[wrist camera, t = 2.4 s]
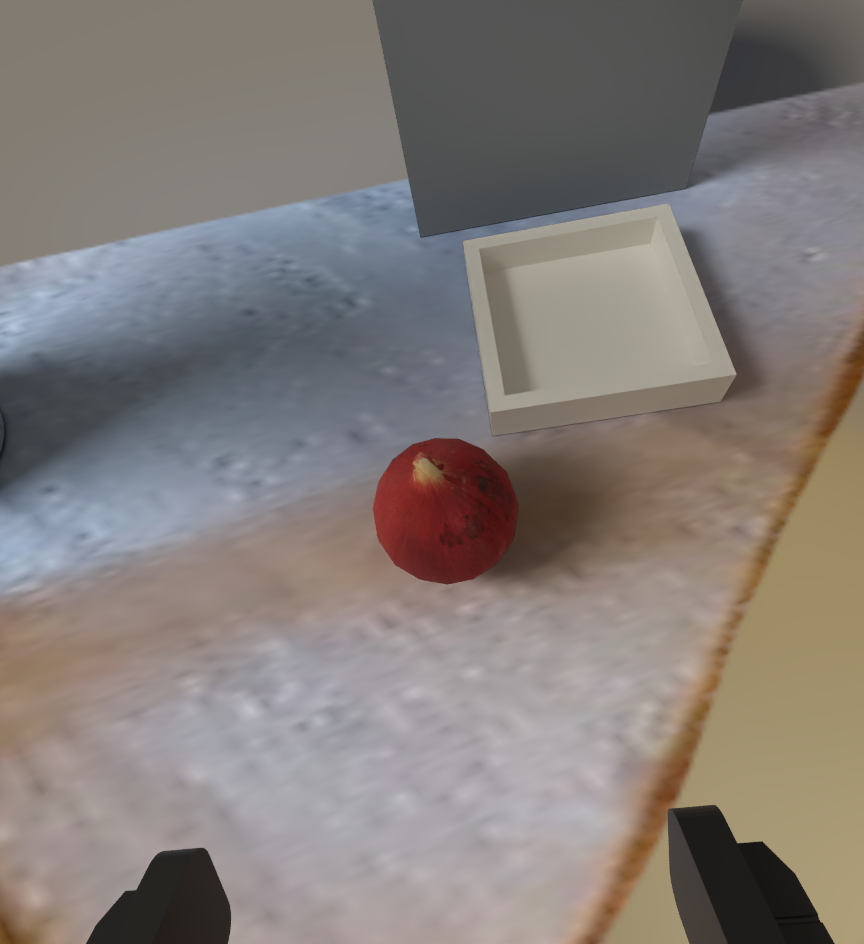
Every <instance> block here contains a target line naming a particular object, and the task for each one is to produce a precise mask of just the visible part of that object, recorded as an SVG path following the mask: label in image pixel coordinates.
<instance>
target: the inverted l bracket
mask: <svg viewBox="0 0 864 944" xmlns="http://www.w3.org/2000/svg"><path fill="white" fill-rule="evenodd" d="M742 1H743V0H373V5H374V10H375V15H376V19H377V24H378V29H379V35H380V40H381V44H382V49H383V54H384V59H385V64H386V69H387V74H388V79H389V84H390V89H391V94H392V99H393V104H394V108H395V114H396V119H397V123H398V128H399V134H400V139H401V143H402V149H403V153H404V158H405V163H406V168H407V173H408V178H409V183H410V188H411V193H412V198H413V203H414V208H415V213H416V218H417V223H418V228H419V233H420V237H424V236H429V235H434V234H440V233H445V232H451V231H456V230H462V229H467V228H473V227H478V226H484V225H489V224H494V223H500V222H505V221H511V220H516V219H522V218H527V217H533V216H538V215H544V214H549V213H554V212H560V211H565V210H571V209H576V208H582V207H587V206H593V205H598V204H604V203H609V202H614V201H620V200H625V199H631V198H636V197H642V196H647V195H653V194H658V193H664V192H669V191H674V190H680V189H685V188H686V187H687V184H688V181H689V177H690V174H691V171H692V167H693V164H694V161H695V157H696V154H697V151H698V147H699V144H700V141H701V138H702V134H703V131H704V128H705V124H706V121H707V118H708V114H709V111H710V107H711V104H712V101H713V98H714V94H715V91H716V88H717V84H718V81H719V78H720V74H721V71H722V68H723V64H724V61H725V58H726V55H727V51H728V48H729V45H730V41H731V38H732V34H733V31H734V28H735V25H736V21H737V18H738V15H739V11H740V8H741V5H742Z"/></svg>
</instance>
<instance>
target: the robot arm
mask: <svg viewBox="0 0 864 944" xmlns="http://www.w3.org/2000/svg"><path fill="white" fill-rule="evenodd" d="M3 439H4V422H3V419H2V416H1V413H0V452H1V449H2V444H3ZM668 836H669V862H670V863H669V864H670V876H671V883H672V888H673V893H674V897H675V901H676V904H677V908H678V911H679V915H680V917H681V920H682V923H683V926H684V929H685V932H686V935H687V938H688V940H689V943H690V944H834V942H833V940H832V939H831V937H830V935H829V933H828V931H827V930H826V928H825V926H824V925H823V923H821V922H820V920H819V918H818V914H817V912H816V910H815V908H814V907H813V905H812V903H811V901H810V900H809V898H808V896H807V894H806V892H805V891H804V889H803V887H802V886H801V884H800V882H799V880H798V878H797V877H796V875H795V873H794V872H793V871H792V870H791V869H790V868H788V867H787V866H786V865H785V864H784V863H783V862H782V861H781V860H780V859H779V858H778V857H777V856H776V855H775V854H774V853H773V852H772V851H771V850H770V849H769V848H768V847H767V846H766V845H765V844H764V843H763V842H750V843H738V844H737V842H736V840H735V838H734V836H733V834H732V832H731V830H730V828H729V826H728V824H727V822H726V820H725V818H724V816H723V814H722V812H721V811H720V809H719V808H718V807H717V806H716V805H708V806H696V807H685V808H673V809H669V810H668ZM230 927H231V910H230V904H229V901H228V899H227V896H226V894H225V892H224V889H223V887H222V884H221V882H220V880H219V877H218V875H217V872H216V870H215V867H214V865H213V863H212V860H211V858H210V855H209V853H208V851H207V850H206V849H204V848H194V849H182V850H171V851H162V852H160V853H158V854H157V855H156V856H155V857H154V859H153V860H152V861H151V863H150V865H149V867H148V869H147V870H146V872H145V874H144V876H143V878H142V880H141V882H140V884H139V886H138V888H137V890H134V891H125V892H124V893H123V894H122V896H121V897H120V898H119V899H118V900H117V901H116V903H115V904H114V905H113V906H112V907H111V908H110V910H109V911H108V912H107V913H106V914H105V915H104V917H103V918H102V919H101V920H100V921H99V922H98V923H97V925H96V926H95V928H94V930H93V932H92V934H91V936H90V937H89V939H88V941H87V943H86V944H228V940H229V935H230Z"/></svg>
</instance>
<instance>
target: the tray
mask: <svg viewBox="0 0 864 944" xmlns="http://www.w3.org/2000/svg"><path fill="white" fill-rule="evenodd" d="M463 248H464V256H465V265H466V273H467V279H468V285H469V292H470V298H471V304H472V310H473V317H474V323H475V329H476V335H477V342H478V348H479V354H480V361H481V367H482V373H483V379H484V386H485V392H486V398H487V404H488V411H489V417H490V423H491V430H492V436H496V435H503V434H510V433H516V432H523V431H529V430H536V429H543V428H549V427H556V426H563V425H569V424H576V423H583V422H589V421H596V420H603V419H609V418H616V417H623V416H629V415H636V414H643V413H649V412H656V411H663V410H669V409H676V408H683V407H689V406H696V405H703V404H709V403H716V402H721V400H722V398H723V397H724V395H725V393H726V392H727V390H728V388H729V387H730V385H731V383H732V382H733V380H734V378H735V377H736V375H737V374H736V372H735V369H734V367H733V364H732V362H731V359H730V356H729V354H728V351H727V349H726V346H725V344H724V341H723V339H722V336H721V334H720V331H719V329H718V326H717V324H716V321H715V319H714V316H713V314H712V311H711V308H710V306H709V303H708V301H707V298H706V296H705V293H704V291H703V288H702V286H701V283H700V281H699V278H698V276H697V273H696V271H695V268H694V266H693V263H692V260H691V258H690V255H689V253H688V250H687V248H686V245H685V243H684V240H683V238H682V235H681V233H680V230H679V228H678V225H677V223H676V220H675V218H674V215H673V213H672V210H671V207H670V205H669V204H663V205H658V206H652V207H647V208H641V209H636V210H630V211H625V212H619V213H614V214H608V215H603V216H597V217H592V218H586V219H581V220H575V221H570V222H564V223H559V224H553V225H548V226H542V227H537V228H531V229H526V230H520V231H515V232H509V233H504V234H498V235H492V236H487V237H481V238H476V239H470V240H465V241H463Z"/></svg>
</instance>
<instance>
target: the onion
mask: <svg viewBox="0 0 864 944" xmlns="http://www.w3.org/2000/svg"><path fill="white" fill-rule="evenodd" d="M373 511H374V518H375V524H376V530H377V536H378V539H379V542H380V543H381V545H382V546H383V548H384V549H385V551H386V552H387V554H388V555H389V557H390V558H391V560H392V561H393V563H394V564H395V565H396V566H398V567H399V568H401V569H403V570H405V571H406V572H408V573H410V574H412V575H413V576H415V577H417V578H418V579H421V580H425V581H431V582H437V583H443V584H452V583H457V582H462V581H467V580H472V579H474V578H476V577H477V576H479V575H480V574H482V573H483V572H485V571H487V570H488V569H490V568H491V567H493V566H494V565H496V564H497V562H498V561H499V559H500V558H501V557H502V555H503V554H504V552H505V551H506V549H507V548H508V547H509V545H510V544H511V542H512V540H513V538H514V535H515V529H516V521H517V513H518V502H517V499H516V496H515V493H514V491H513V488H512V485H511V483H510V480H509V477H508V475H507V472H506V471H505V470H504V469H503V468H502V467H501V466H500V465H499V464H498V463H497V462H496V461H494V460H493V459H492V458H491V457H490V456H489V455H488V454H487V453H486V452H485V451H484V450H483V449H481V448H479V447H476V446H474V445H472V444H469V443H467V442H465V441H462V440H459V439H440V438H434V439H431V440H427V441H423V442H420V443H416V444H413V445H411V446H410V447H409V448H407V449H406V450H405V451H403V452H402V453H401V454H400V455H398V456H397V457H396V458H394V459H393V460H392V462H391V463H390V465H389V466H388V468H387V469H386V471H385V473H384V474H383V476H382V477H381V479H380V481H379V483H378V487H377V492H376V497H375V502H374V507H373Z"/></svg>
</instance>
